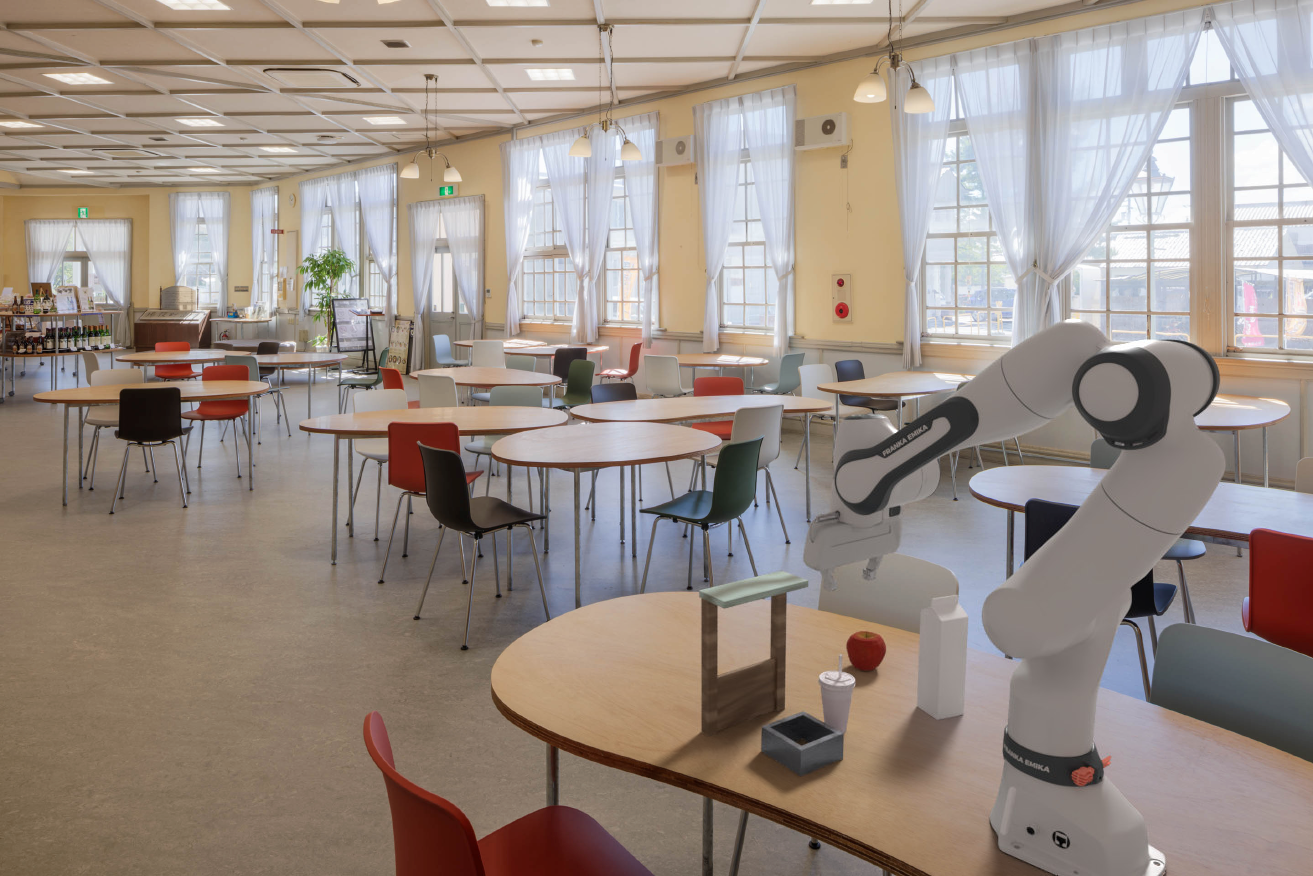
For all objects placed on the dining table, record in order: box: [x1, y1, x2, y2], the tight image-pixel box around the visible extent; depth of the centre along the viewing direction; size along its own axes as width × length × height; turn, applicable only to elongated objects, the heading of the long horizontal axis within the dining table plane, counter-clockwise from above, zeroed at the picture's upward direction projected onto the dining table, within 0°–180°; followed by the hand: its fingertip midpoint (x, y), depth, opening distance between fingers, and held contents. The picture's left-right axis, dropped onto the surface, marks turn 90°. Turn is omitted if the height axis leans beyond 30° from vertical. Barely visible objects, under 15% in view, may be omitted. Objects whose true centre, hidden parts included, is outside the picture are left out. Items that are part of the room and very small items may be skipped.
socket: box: [760, 710, 845, 777], centre depth 145 cm, size 10×10×4 cm
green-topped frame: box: [698, 570, 809, 737], centre depth 154 cm, size 7×19×26 cm, turn 124°
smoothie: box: [817, 654, 856, 734], centre depth 153 cm, size 6×6×14 cm
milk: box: [916, 594, 969, 721], centre depth 159 cm, size 6×6×22 cm
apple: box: [845, 630, 887, 672], centre depth 179 cm, size 8×8×8 cm
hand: (849, 584), depth 149 cm, fingers open, 8 cm apart
